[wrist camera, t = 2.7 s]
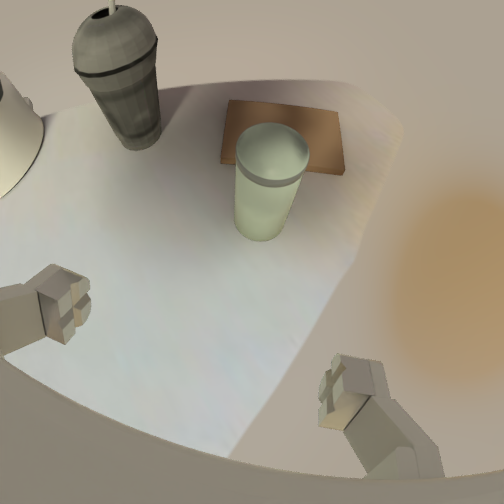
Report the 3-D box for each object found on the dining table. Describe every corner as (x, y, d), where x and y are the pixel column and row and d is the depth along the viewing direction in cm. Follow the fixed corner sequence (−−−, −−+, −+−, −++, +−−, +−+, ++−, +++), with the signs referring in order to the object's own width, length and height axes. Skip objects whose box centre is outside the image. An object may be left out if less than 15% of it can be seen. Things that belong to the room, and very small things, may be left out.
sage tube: (231, 240, 28) (232, 177, 18) (235, 193, 29) (238, 119, 20) (284, 244, 28) (310, 184, 18) (285, 197, 29) (308, 126, 20)
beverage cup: (117, 112, 32) (70, -39, 13) (178, 108, 32) (157, -58, 13) (101, 163, 30) (24, 0, 11) (168, 160, 30) (126, -30, 11)
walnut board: (220, 163, 30) (220, 157, 29) (228, 106, 33) (229, 99, 32) (342, 175, 31) (345, 170, 30) (335, 117, 33) (337, 112, 32)
